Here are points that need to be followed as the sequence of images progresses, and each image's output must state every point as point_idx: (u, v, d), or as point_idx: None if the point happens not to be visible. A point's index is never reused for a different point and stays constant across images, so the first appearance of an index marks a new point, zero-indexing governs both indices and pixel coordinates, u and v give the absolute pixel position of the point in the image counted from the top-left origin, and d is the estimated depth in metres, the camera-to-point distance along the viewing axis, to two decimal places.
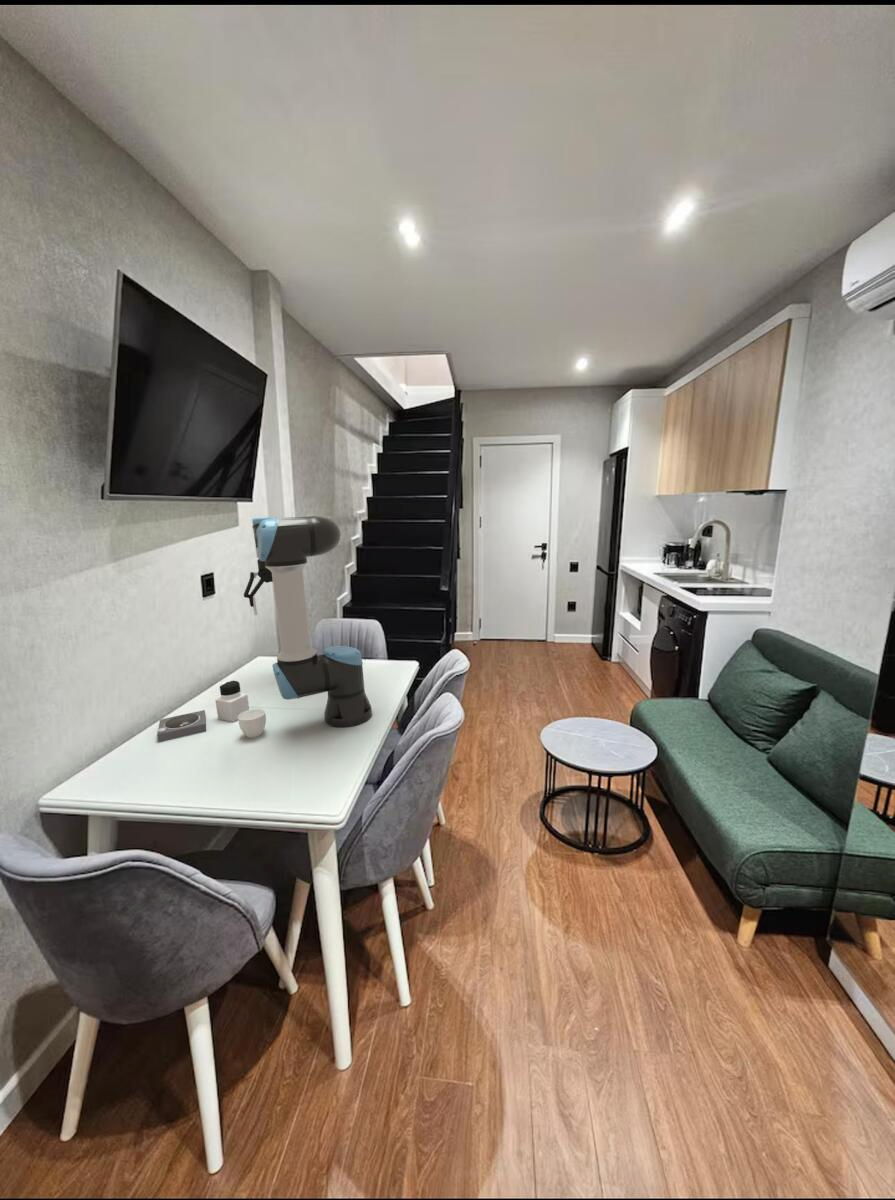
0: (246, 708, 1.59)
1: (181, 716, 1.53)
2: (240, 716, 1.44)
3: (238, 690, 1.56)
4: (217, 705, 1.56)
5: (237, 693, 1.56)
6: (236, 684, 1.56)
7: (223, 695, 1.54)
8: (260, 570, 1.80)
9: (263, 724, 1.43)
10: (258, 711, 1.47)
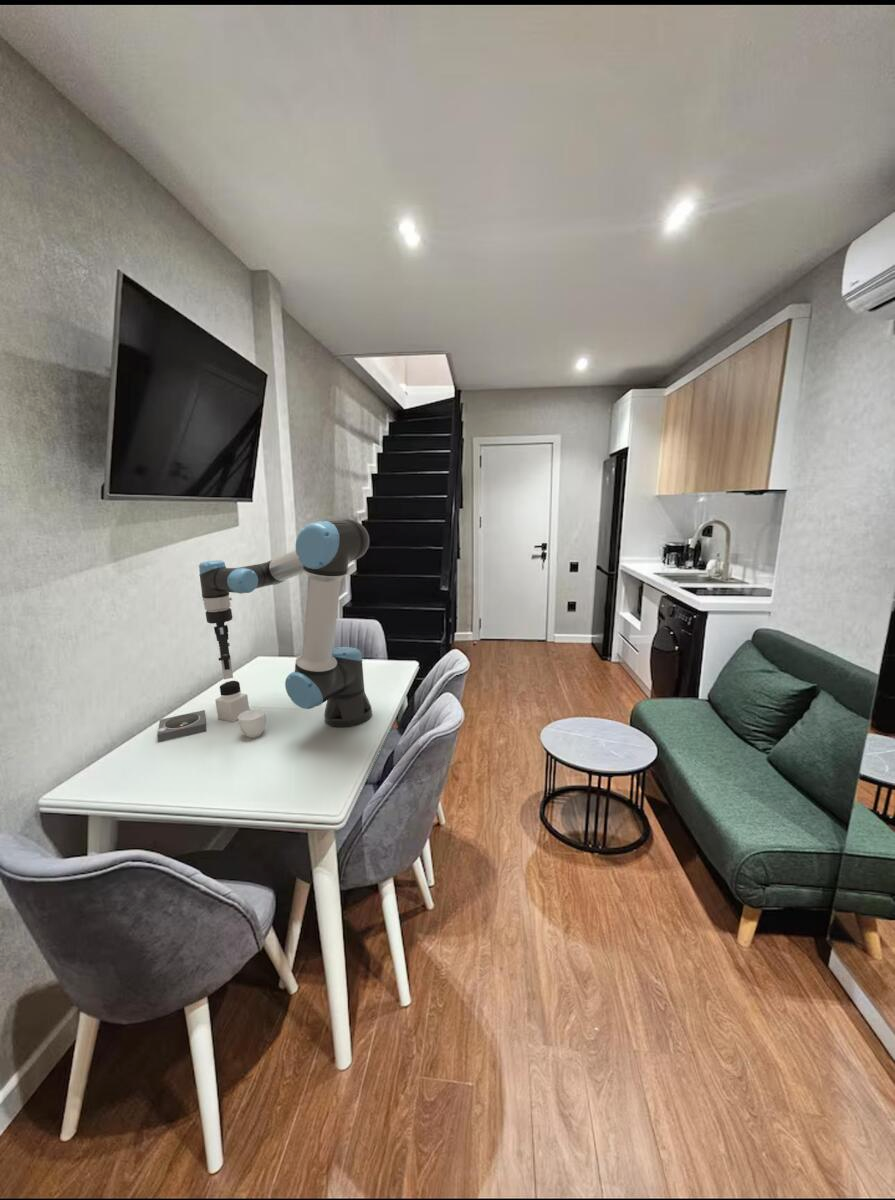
0: (246, 708, 1.59)
1: (181, 716, 1.53)
2: (240, 716, 1.44)
3: (238, 690, 1.56)
4: (217, 705, 1.56)
5: (237, 693, 1.56)
6: (236, 684, 1.56)
7: (223, 695, 1.54)
8: None
9: (263, 724, 1.43)
10: (258, 711, 1.47)
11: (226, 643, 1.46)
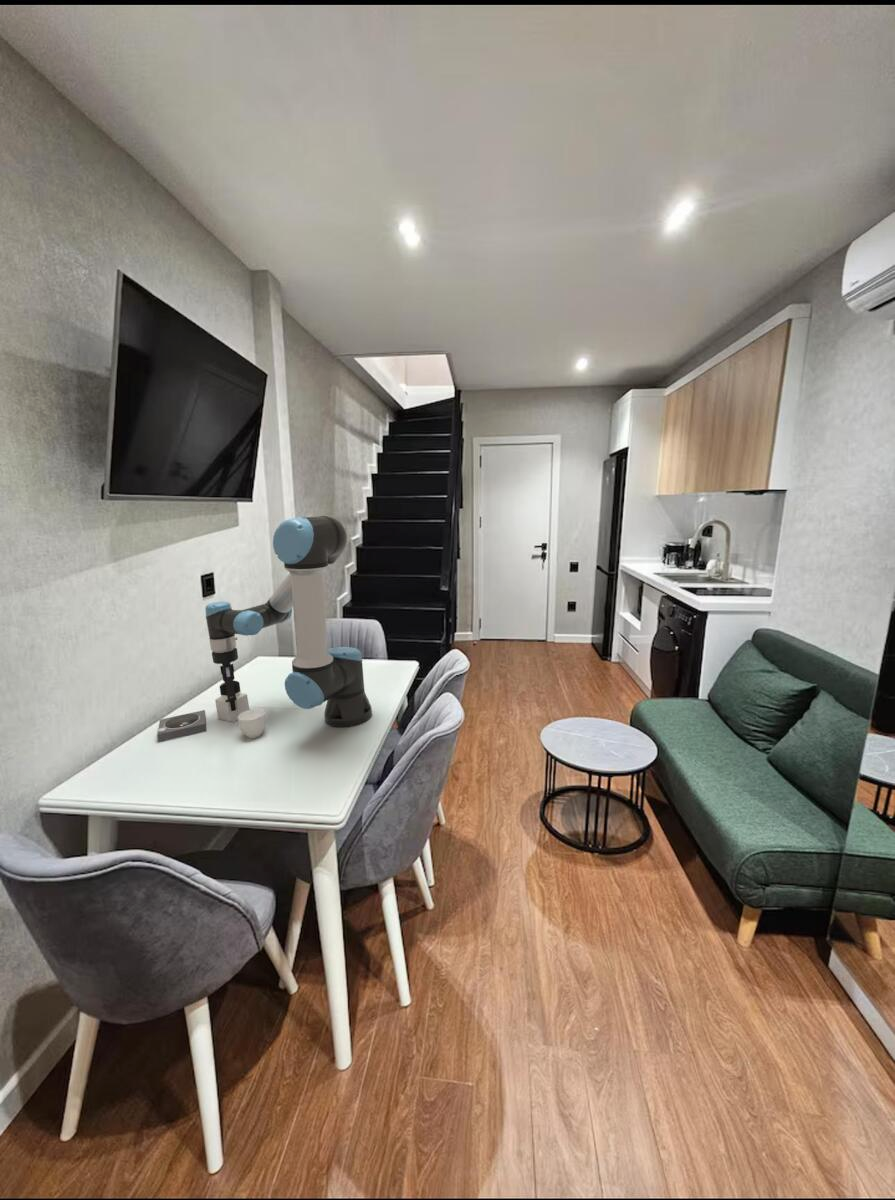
0: (246, 708, 1.59)
1: (181, 716, 1.53)
2: (240, 716, 1.44)
3: (238, 690, 1.56)
4: (217, 705, 1.55)
5: (237, 693, 1.56)
6: (236, 684, 1.56)
7: (223, 695, 1.54)
8: None
9: (263, 724, 1.43)
10: (258, 711, 1.47)
11: (232, 686, 1.50)
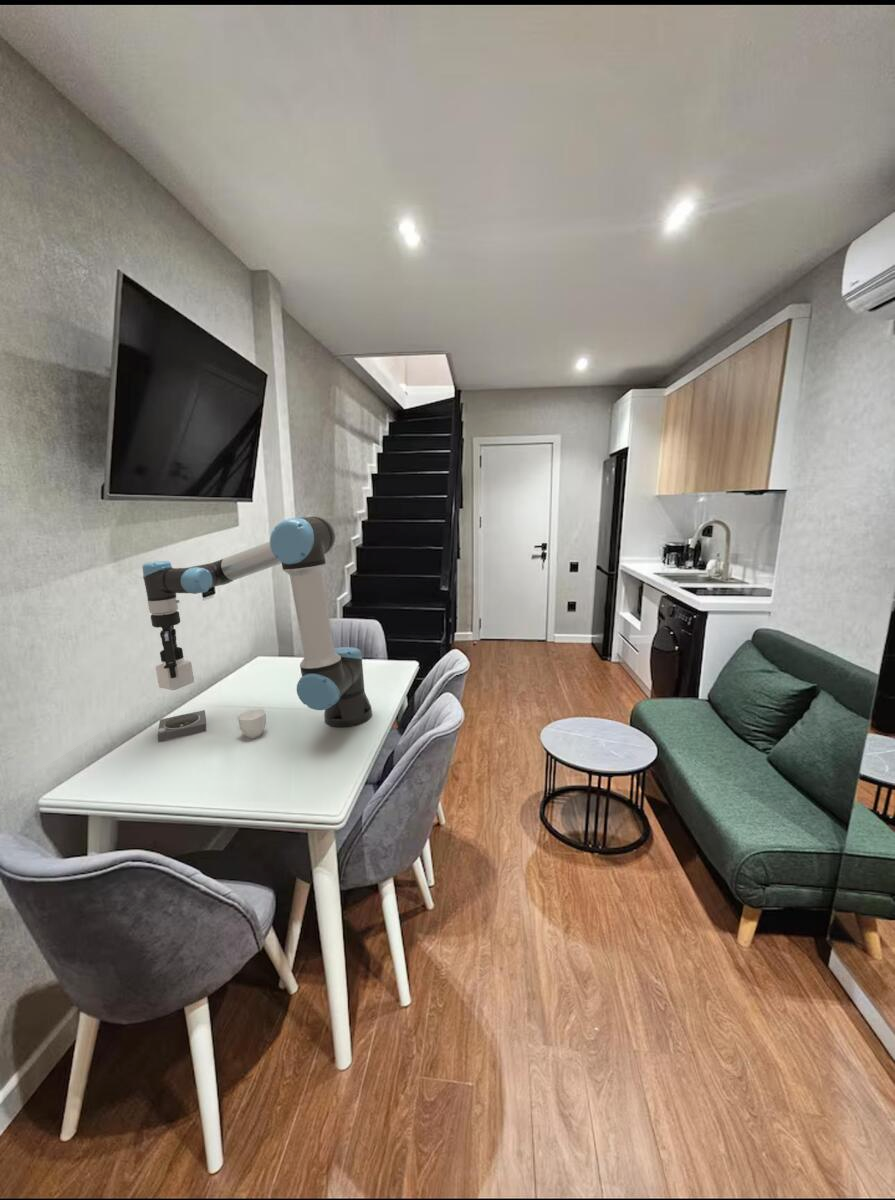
0: (190, 676, 1.48)
1: (181, 716, 1.53)
2: (240, 716, 1.44)
3: (180, 656, 1.46)
4: (157, 672, 1.45)
5: (179, 660, 1.46)
6: (178, 650, 1.45)
7: (163, 661, 1.44)
8: None
9: (263, 724, 1.43)
10: (258, 711, 1.47)
11: (171, 650, 1.40)
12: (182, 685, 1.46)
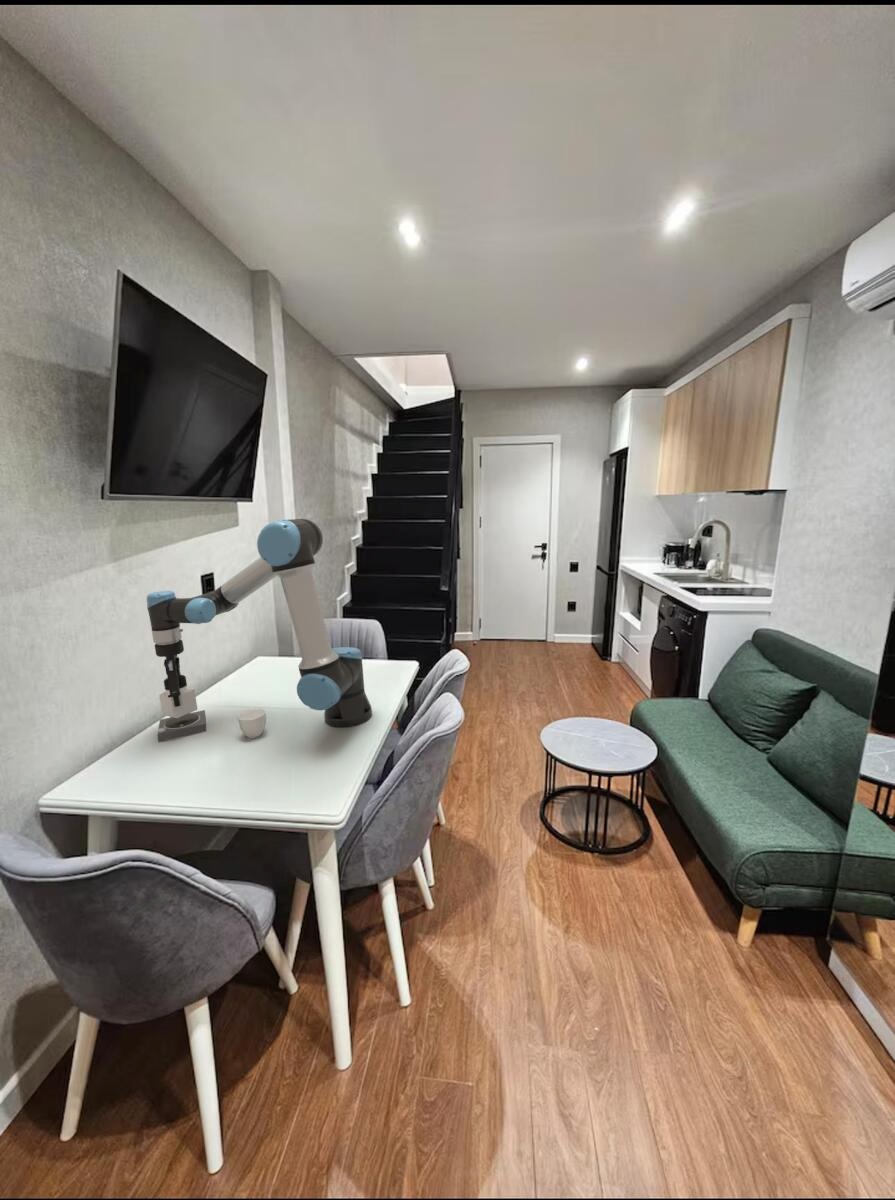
0: (193, 704, 1.50)
1: None
2: (240, 716, 1.44)
3: (184, 685, 1.48)
4: (161, 700, 1.47)
5: (182, 688, 1.47)
6: (181, 678, 1.47)
7: (167, 690, 1.45)
8: None
9: (263, 724, 1.43)
10: (258, 711, 1.47)
11: (175, 680, 1.41)
12: (186, 713, 1.48)
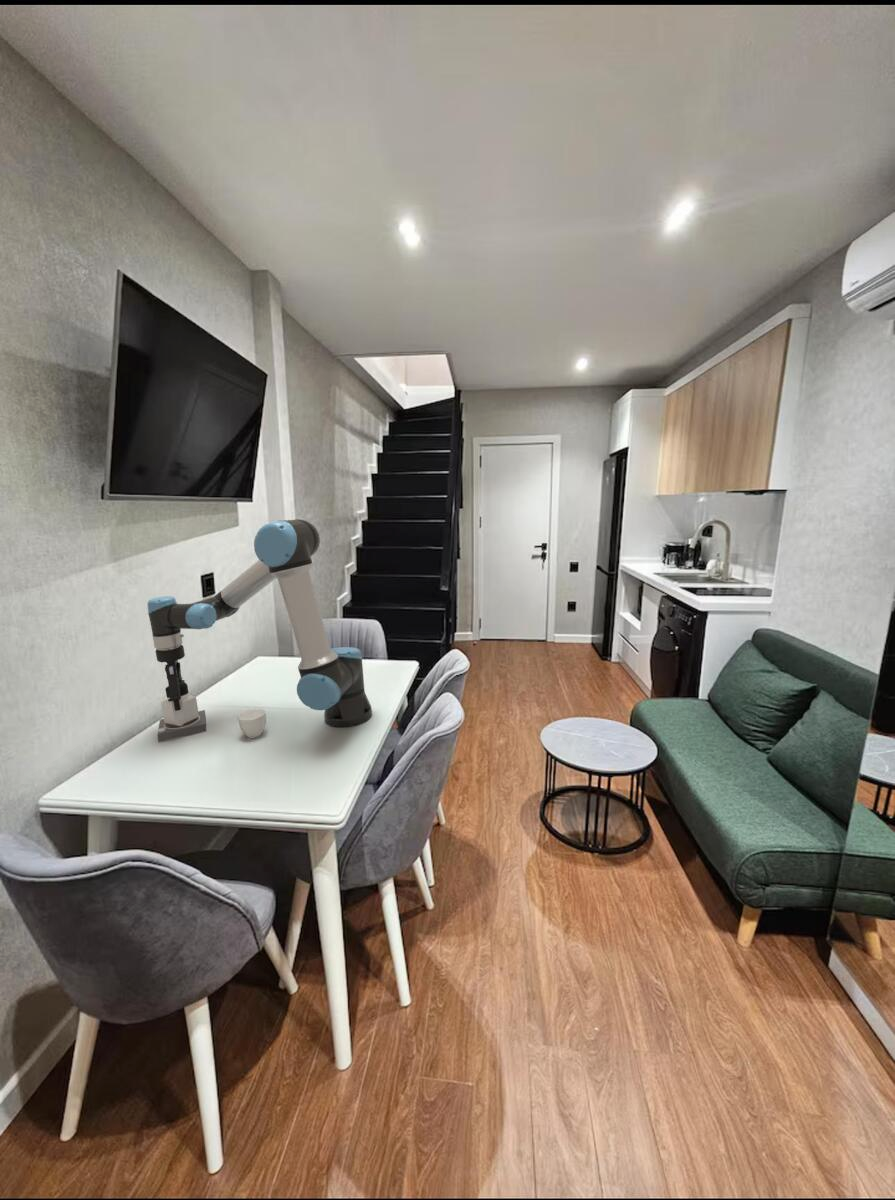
0: (195, 711, 1.51)
1: None
2: (240, 716, 1.44)
3: (185, 692, 1.48)
4: (163, 708, 1.48)
5: (184, 695, 1.48)
6: (183, 686, 1.48)
7: (169, 697, 1.46)
8: None
9: (263, 724, 1.43)
10: (258, 711, 1.47)
11: (176, 683, 1.41)
12: (187, 720, 1.48)
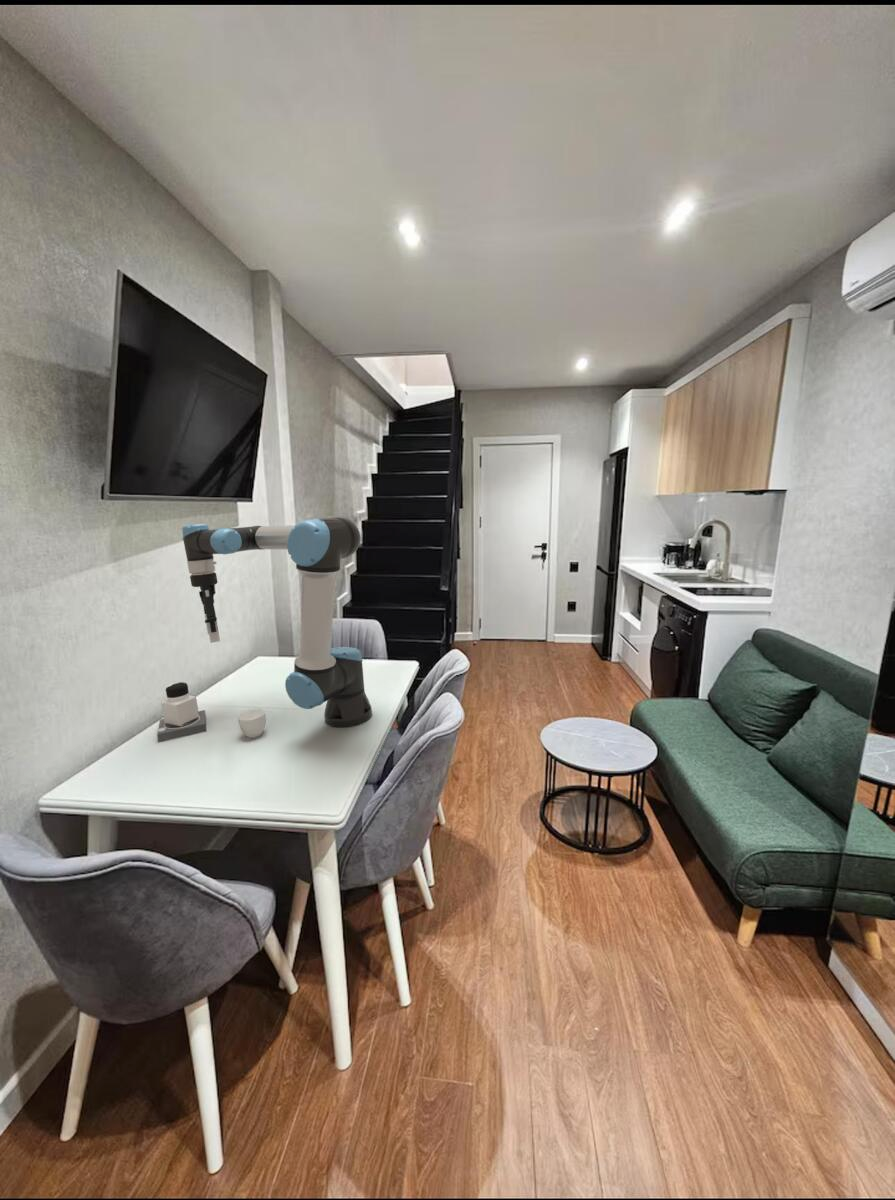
0: (195, 711, 1.51)
1: None
2: (240, 716, 1.44)
3: (185, 692, 1.48)
4: (163, 708, 1.48)
5: (184, 695, 1.48)
6: (183, 686, 1.48)
7: (169, 697, 1.46)
8: None
9: (263, 724, 1.43)
10: (258, 711, 1.47)
11: (212, 605, 1.46)
12: (187, 720, 1.48)
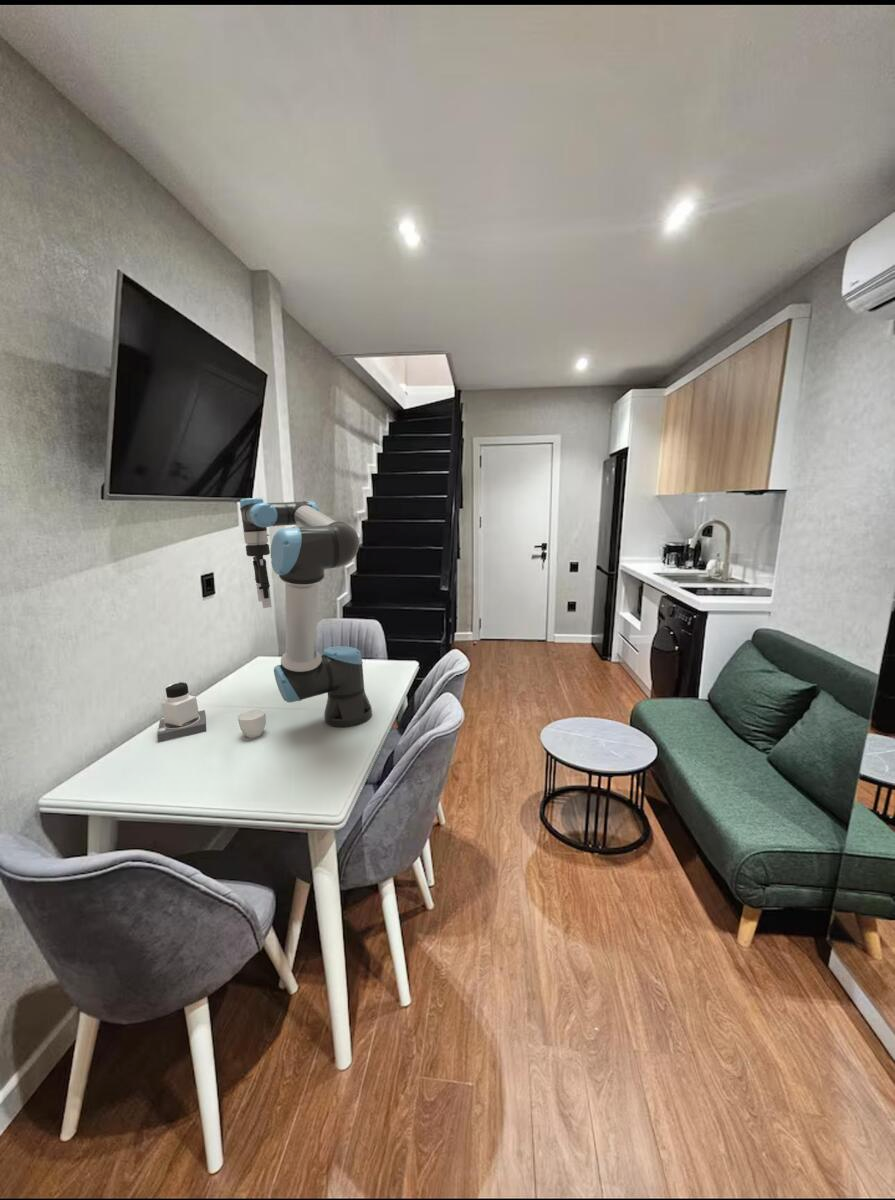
0: (195, 711, 1.51)
1: None
2: (240, 716, 1.44)
3: (185, 692, 1.48)
4: (163, 708, 1.48)
5: (184, 695, 1.48)
6: (183, 686, 1.48)
7: (169, 697, 1.46)
8: None
9: (263, 724, 1.43)
10: (258, 711, 1.47)
11: (266, 573, 1.58)
12: (187, 720, 1.48)
